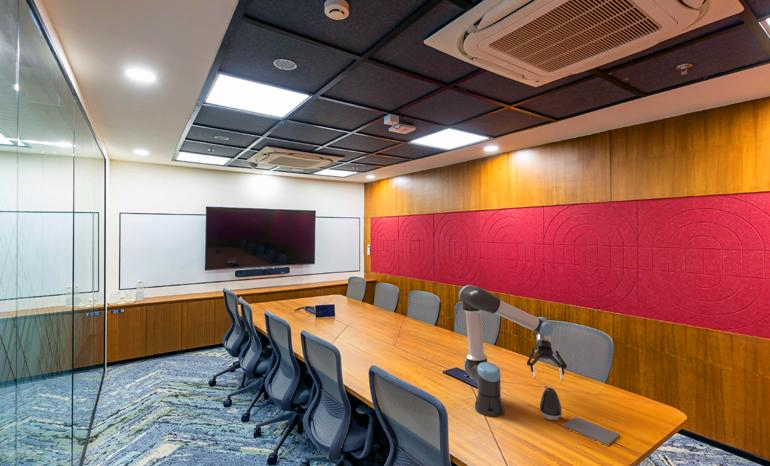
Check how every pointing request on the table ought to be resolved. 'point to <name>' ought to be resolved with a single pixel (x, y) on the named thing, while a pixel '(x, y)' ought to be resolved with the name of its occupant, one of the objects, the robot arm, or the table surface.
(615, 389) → the table surface
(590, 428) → the mat
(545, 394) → the pump dispenser
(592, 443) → the table surface
